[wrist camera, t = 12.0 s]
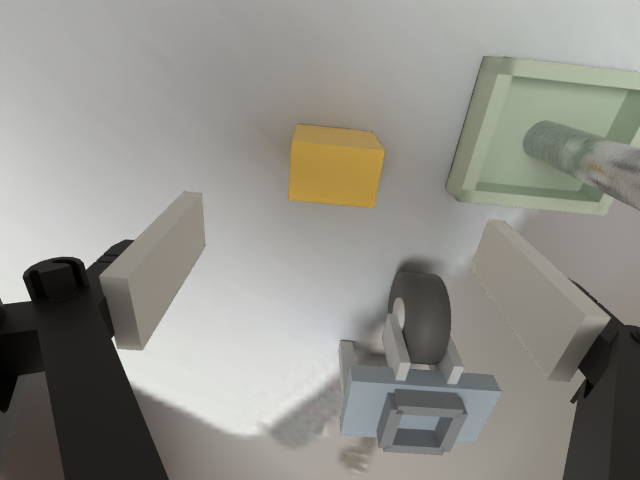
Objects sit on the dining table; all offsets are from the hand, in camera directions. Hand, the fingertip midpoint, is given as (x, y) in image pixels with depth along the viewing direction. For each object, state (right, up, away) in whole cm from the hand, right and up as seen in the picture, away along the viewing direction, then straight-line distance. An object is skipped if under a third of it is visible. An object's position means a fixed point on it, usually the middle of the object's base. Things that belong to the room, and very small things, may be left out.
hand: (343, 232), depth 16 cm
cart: (+7, -8, +20) cm, 22 cm away
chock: (0, +7, +12) cm, 14 cm away
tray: (+16, +8, +11) cm, 21 cm away
